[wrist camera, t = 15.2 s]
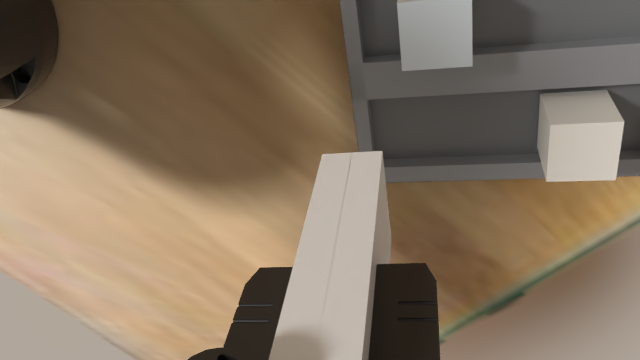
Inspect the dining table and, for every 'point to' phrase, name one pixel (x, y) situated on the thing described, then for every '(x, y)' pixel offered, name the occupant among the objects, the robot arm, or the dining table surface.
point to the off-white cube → (579, 136)
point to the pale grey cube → (435, 34)
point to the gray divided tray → (489, 86)
